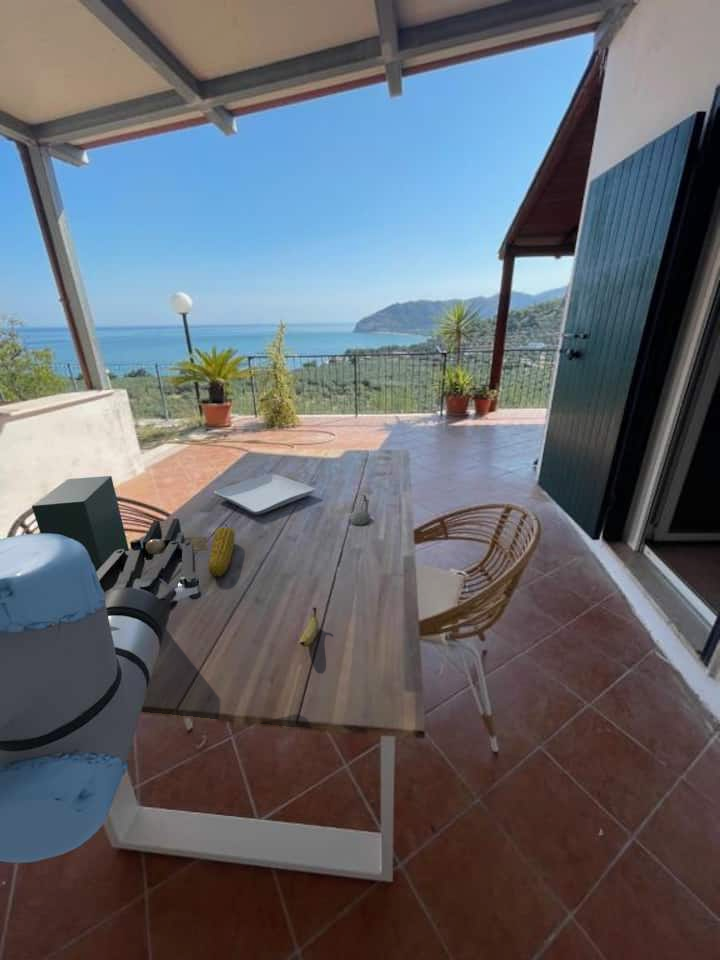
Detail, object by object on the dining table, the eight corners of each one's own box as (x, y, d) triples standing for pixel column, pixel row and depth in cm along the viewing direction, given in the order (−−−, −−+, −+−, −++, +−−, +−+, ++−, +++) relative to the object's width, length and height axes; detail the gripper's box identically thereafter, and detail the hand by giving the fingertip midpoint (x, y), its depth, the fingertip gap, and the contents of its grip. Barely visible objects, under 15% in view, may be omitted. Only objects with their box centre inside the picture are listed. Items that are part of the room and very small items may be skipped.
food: (216, 542, 115) (213, 524, 113) (236, 540, 116) (233, 522, 114) (207, 583, 96) (204, 562, 94) (231, 580, 97) (228, 559, 95)
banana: (309, 659, 73) (308, 642, 71) (297, 658, 73) (295, 641, 72) (321, 622, 82) (320, 607, 81) (310, 621, 83) (309, 606, 81)
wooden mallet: (126, 557, 49) (125, 538, 49) (172, 553, 71) (171, 540, 72) (177, 551, 50) (176, 533, 50) (207, 549, 73) (206, 536, 73)
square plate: (213, 500, 145) (212, 490, 144) (272, 481, 164) (272, 472, 163) (256, 521, 128) (255, 510, 127) (317, 496, 148) (316, 487, 146)
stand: (76, 645, 77) (31, 505, 66) (101, 601, 89) (67, 479, 79) (121, 637, 78) (84, 501, 68) (140, 595, 91) (111, 475, 81)
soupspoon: (348, 526, 126) (368, 528, 125) (348, 517, 124) (368, 519, 124) (355, 498, 146) (373, 499, 145) (356, 490, 145) (373, 491, 144)
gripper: (196, 598, 37) (217, 500, 58) (11, 624, 34) (105, 509, 55) (206, 658, 40) (223, 543, 61) (36, 688, 36) (117, 555, 58)
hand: (167, 527), depth 58 cm, fingers closed on wooden mallet, 2 cm apart
